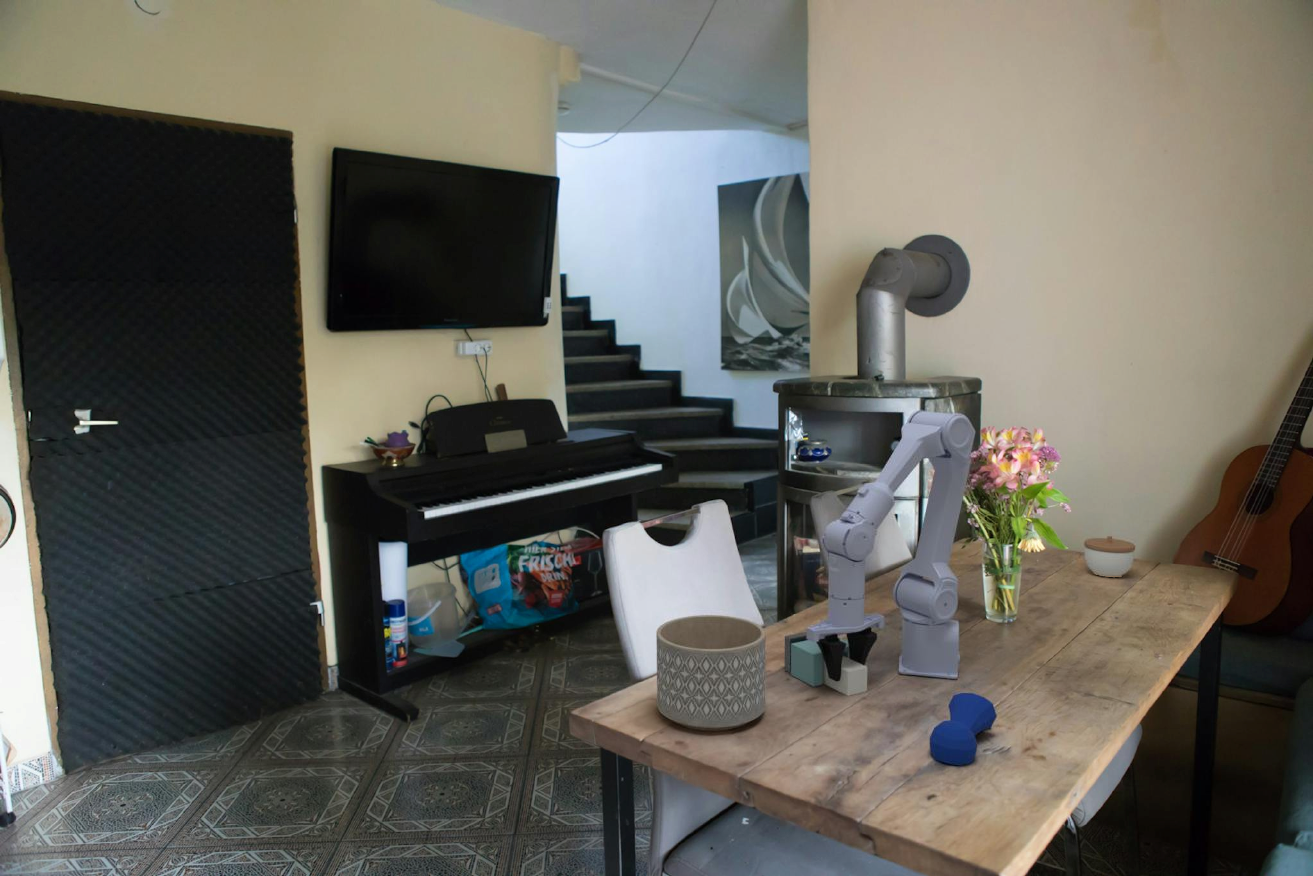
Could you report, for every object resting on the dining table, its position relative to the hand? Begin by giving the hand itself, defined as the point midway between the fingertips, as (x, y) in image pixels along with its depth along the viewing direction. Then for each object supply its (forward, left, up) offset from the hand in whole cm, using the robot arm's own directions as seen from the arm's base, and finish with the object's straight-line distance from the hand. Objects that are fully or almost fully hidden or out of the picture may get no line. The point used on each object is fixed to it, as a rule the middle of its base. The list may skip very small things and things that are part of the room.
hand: (845, 676), depth 144 cm
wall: (+7, -7, -2) cm, 10 cm away
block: (+4, -4, -2) cm, 6 cm away
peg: (+1, -1, -2) cm, 3 cm away
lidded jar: (-54, -86, -2) cm, 102 cm away
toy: (-17, +16, -2) cm, 24 cm away
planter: (+19, +15, -2) cm, 24 cm away
